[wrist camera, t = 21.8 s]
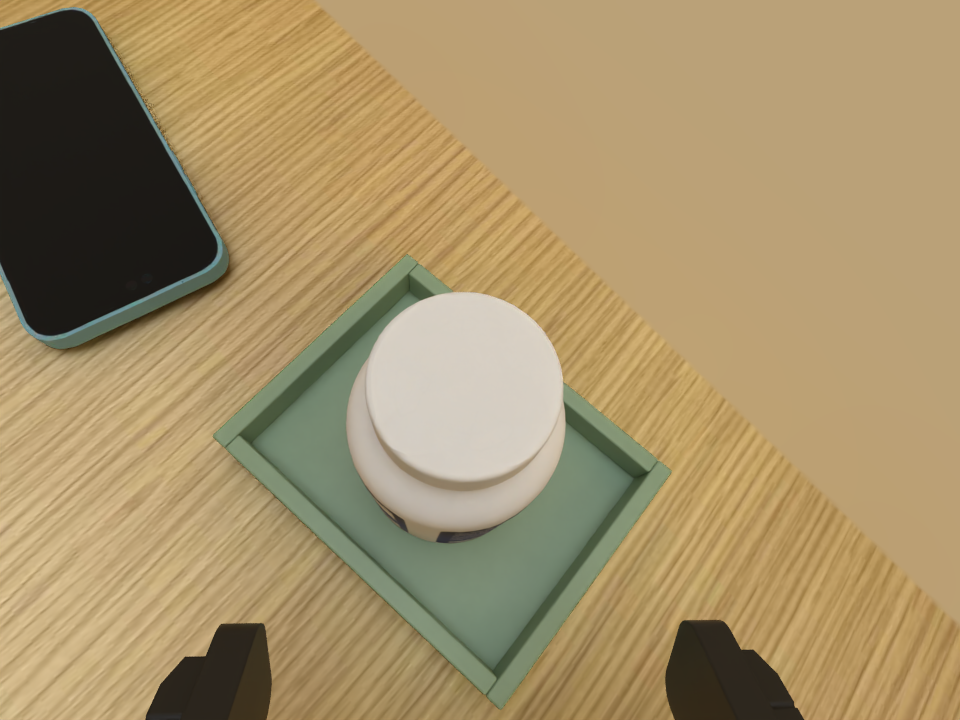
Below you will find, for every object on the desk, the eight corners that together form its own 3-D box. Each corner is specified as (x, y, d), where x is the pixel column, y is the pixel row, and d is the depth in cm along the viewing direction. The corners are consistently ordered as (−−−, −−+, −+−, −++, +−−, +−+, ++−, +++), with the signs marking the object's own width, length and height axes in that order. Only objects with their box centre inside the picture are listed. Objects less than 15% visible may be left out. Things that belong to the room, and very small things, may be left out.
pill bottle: (538, 415, 21) (624, 301, 12) (501, 563, 20) (570, 558, 10) (397, 373, 22) (380, 229, 12) (347, 518, 20) (283, 474, 10)
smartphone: (86, 0, 25) (234, 259, 22) (99, 22, 26) (243, 274, 23) (-95, 57, 24) (32, 352, 20) (-73, 79, 25) (51, 363, 21)
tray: (651, 479, 22) (673, 470, 20) (493, 697, 19) (501, 711, 17) (408, 278, 23) (407, 252, 22) (230, 447, 21) (211, 435, 19)
